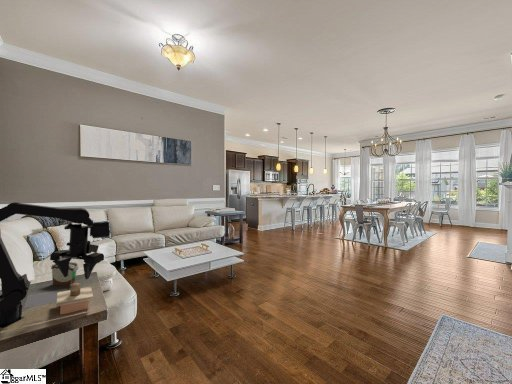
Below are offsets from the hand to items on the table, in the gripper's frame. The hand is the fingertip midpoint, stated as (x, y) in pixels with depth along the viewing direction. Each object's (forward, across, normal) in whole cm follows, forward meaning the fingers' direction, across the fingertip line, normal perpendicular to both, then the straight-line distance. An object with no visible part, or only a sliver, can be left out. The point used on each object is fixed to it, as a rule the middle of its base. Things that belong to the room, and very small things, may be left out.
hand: (76, 277), depth 91 cm
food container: (+12, +21, -18) cm, 31 cm away
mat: (+12, +16, -4) cm, 21 cm away
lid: (+8, 0, 0) cm, 8 cm away
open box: (+12, 0, 0) cm, 12 cm away
